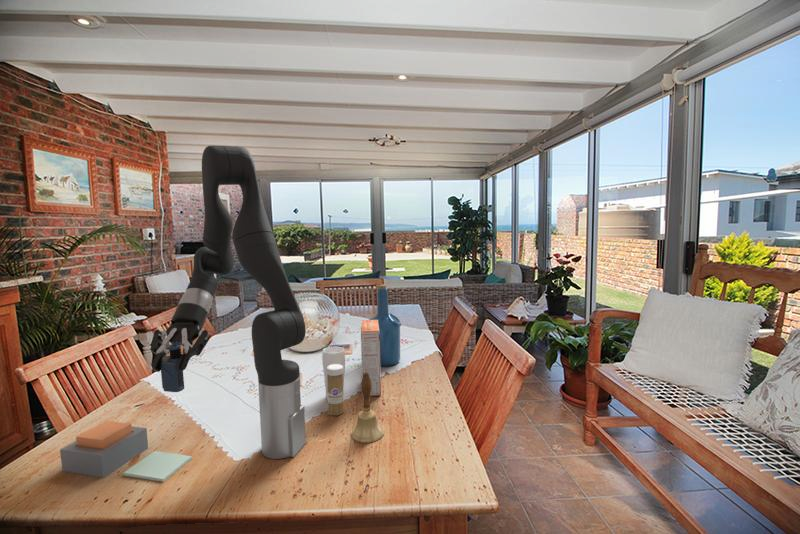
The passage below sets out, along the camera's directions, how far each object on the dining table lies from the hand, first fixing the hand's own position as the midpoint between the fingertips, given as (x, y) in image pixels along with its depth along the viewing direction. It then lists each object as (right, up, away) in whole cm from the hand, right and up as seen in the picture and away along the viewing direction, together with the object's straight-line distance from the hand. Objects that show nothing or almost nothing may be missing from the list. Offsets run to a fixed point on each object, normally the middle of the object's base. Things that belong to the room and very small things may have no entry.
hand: (167, 370), depth 90 cm
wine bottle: (+49, -12, +58) cm, 77 cm away
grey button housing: (-12, -19, -3) cm, 23 cm away
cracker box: (+46, -15, +34) cm, 59 cm away
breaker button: (-12, -15, -4) cm, 20 cm away
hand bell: (+47, -18, +6) cm, 51 cm away
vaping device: (0, -6, +3) cm, 6 cm away
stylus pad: (+2, -20, -6) cm, 21 cm away
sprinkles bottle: (+37, -17, +18) cm, 44 cm away
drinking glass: (+35, -16, +27) cm, 47 cm away
